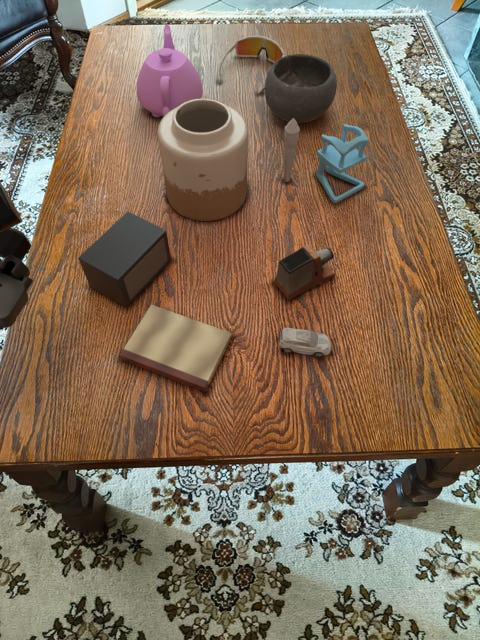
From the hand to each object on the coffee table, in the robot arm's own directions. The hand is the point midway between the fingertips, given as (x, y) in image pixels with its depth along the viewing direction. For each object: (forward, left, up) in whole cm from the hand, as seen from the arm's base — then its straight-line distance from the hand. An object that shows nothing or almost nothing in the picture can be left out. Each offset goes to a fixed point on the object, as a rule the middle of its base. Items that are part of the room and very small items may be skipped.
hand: (1, 326), depth 65 cm
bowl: (+16, +75, -12) cm, 77 cm away
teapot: (-11, +68, -12) cm, 70 cm away
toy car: (+36, +20, -12) cm, 43 cm away
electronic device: (+32, +32, -12) cm, 47 cm away
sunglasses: (+1, +86, -12) cm, 87 cm away
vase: (+8, +45, -12) cm, 47 cm away
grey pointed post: (+21, +54, -12) cm, 59 cm away
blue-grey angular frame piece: (+30, +57, -12) cm, 66 cm away
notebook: (+18, +12, -12) cm, 25 cm away
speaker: (+5, +22, -12) cm, 26 cm away
